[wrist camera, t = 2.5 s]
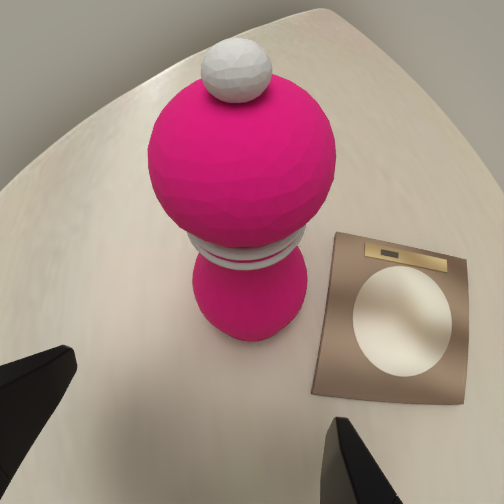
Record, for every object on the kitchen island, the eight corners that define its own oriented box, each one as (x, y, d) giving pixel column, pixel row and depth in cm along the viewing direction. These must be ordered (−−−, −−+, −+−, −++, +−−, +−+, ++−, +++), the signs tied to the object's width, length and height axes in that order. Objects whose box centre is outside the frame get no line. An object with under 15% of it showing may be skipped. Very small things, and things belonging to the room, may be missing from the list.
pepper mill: (188, 324, 24) (29, 115, 5) (228, 245, 26) (187, -6, 8) (277, 362, 22) (361, 206, 4) (311, 277, 25) (398, 29, 7)
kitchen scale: (458, 404, 20) (465, 404, 19) (311, 393, 21) (313, 393, 20) (462, 263, 25) (467, 258, 24) (334, 236, 27) (337, 230, 26)
